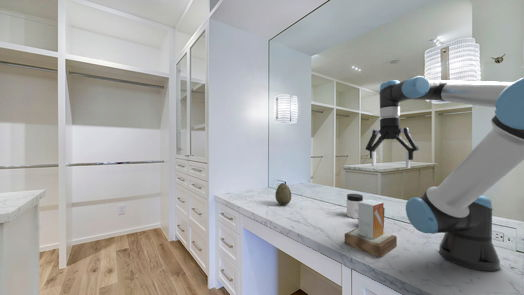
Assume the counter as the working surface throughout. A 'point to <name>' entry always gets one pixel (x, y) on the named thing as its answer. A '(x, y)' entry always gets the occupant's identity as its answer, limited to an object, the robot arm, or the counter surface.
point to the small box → (370, 218)
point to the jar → (353, 205)
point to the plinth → (371, 243)
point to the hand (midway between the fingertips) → (390, 166)
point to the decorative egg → (283, 194)
